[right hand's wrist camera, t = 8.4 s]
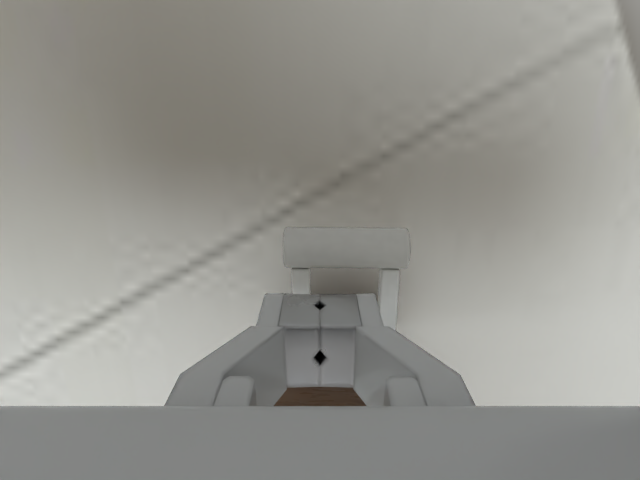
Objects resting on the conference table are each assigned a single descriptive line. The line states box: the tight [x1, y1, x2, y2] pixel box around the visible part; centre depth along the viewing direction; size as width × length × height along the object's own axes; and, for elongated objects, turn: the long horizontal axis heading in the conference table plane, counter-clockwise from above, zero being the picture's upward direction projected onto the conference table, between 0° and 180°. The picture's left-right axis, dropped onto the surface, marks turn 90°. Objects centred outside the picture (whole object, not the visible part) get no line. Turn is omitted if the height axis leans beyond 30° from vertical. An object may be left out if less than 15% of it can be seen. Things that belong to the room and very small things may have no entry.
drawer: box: [274, 227, 411, 406], centre depth 16 cm, size 22×5×7 cm, turn 0°
